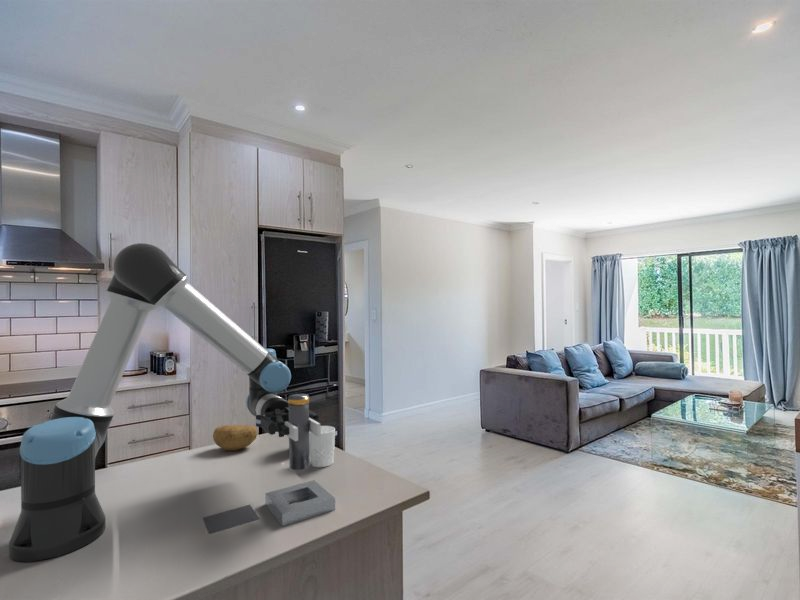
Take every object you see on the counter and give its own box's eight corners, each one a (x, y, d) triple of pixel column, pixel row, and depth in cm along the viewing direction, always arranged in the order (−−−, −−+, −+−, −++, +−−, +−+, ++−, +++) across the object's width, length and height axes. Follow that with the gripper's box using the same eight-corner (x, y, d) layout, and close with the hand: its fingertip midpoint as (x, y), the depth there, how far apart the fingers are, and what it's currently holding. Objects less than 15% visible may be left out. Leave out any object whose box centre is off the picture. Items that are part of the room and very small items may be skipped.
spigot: (293, 471, 91) (292, 399, 91) (286, 465, 95) (285, 395, 95) (313, 466, 94) (312, 396, 94) (305, 460, 98) (304, 392, 98)
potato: (253, 453, 132) (253, 428, 133) (208, 455, 131) (207, 430, 131) (261, 443, 142) (261, 420, 142) (219, 445, 141) (219, 421, 141)
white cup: (329, 469, 118) (329, 434, 118) (304, 467, 120) (303, 432, 120) (339, 459, 126) (338, 426, 126) (315, 457, 128) (314, 425, 128)
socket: (282, 531, 86) (282, 514, 86) (265, 508, 96) (265, 493, 96) (335, 513, 93) (335, 498, 93) (314, 494, 102) (314, 480, 103)
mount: (209, 538, 83) (209, 533, 83) (202, 522, 90) (202, 517, 90) (259, 523, 89) (259, 518, 89) (249, 508, 96) (249, 504, 96)
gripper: (306, 419, 114) (344, 441, 95) (240, 431, 104) (267, 458, 85) (305, 392, 114) (343, 408, 95) (239, 401, 104) (267, 422, 85)
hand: (307, 432), depth 90 cm, fingers closed on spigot, 4 cm apart
